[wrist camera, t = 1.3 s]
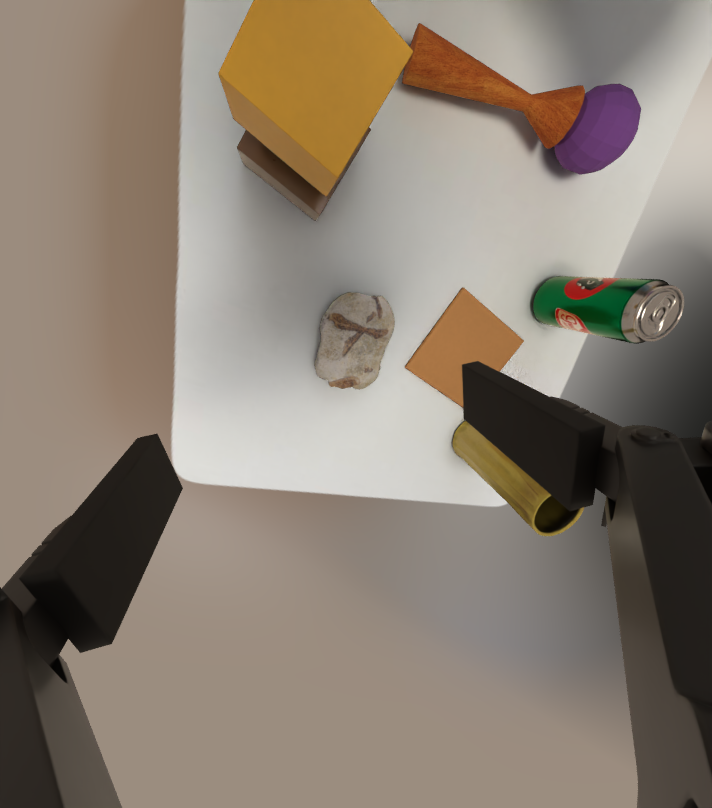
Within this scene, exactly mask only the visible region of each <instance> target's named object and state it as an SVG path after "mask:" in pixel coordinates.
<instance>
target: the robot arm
mask: <svg viewBox="0 0 712 808" xmlns="http://www.w3.org/2000/svg"><path fill="white" fill-rule="evenodd" d="M462 382H463V410H464V420H466V421H467V422H468V423H469V424H470V425H471V426H472V427H474V428H475V429H476V430H477V431H478V432H479V433H480V434H482V435H483V436H484V437H485V438H486V439H487V440H489V441H490V442H491V443H492V444H493V445H494V446H495V447H497V448H498V449H499V450H500V451H501V452H502V453H503V454H505V455H506V456H507V457H508V458H509V459H510V460H512V461H513V462H514V463H515V464H516V465H517V466H518V467H520V468H521V469H522V470H523V471H524V472H525V473H526V474H528V475H529V476H530V477H531V478H532V479H533V480H534V481H536V482H537V483H538V484H539V485H540V486H541V487H543V488H544V489H545V490H546V491H547V492H548V493H549V494H551V495H552V496H553V497H554V498H555V499H556V500H557V501H559V502H560V503H561V504H562V505H563V506H564V507H566V508H567V509H568V510H569V511H573V510H577V509H580V508H583V507H586V506H590V505H593V500H594V493H595V488H596V489H598V490H599V491H601V492H602V493H603V494H605V495H606V502H605V507H604V513H603V519H602V526H606V525H607V527H608V528H607V529H608V537H609V545H610V553H611V561H612V569H613V577H614V586H615V594H616V602H617V610H618V618H619V626H620V635H621V643H622V651H623V659H624V667H625V674H626V683H627V691H628V700H629V708H630V715H631V724H632V732H633V740H634V748H635V756H636V765H637V775H638V802H637V808H712V421H710V422H708V423H706V426H705V428H704V431H703V435H702V437H695V438H678V437H677V436H676V435H674V434H672V433H670V432H669V431H667V430H663V429H660V428H657V427H651V426H645V425H632V426H627V427H621V426H619V425H617V424H615V423H613V422H610V421H608V420H606V419H604V418H602V417H600V416H598V415H596V414H594V413H590V412H589V411H588V410H586V409H584V408H580V407H579V406H577V405H576V404H574V403H571V402H569V401H567V400H563V399H559V398H555V397H548V396H546V395H544V394H542V393H540V392H539V391H537V390H535V389H533V388H531V387H529V386H527V385H525V384H523V383H521V382H519V381H517V380H515V379H513V378H511V377H509V376H507V375H505V374H503V373H501V372H499V371H497V370H495V369H493V368H491V367H489V366H487V365H485V364H483V363H481V362H479V361H475V362H471V363H466V364H462ZM182 489H183V488H182V485H181V483H180V481H179V479H178V477H177V475H176V473H175V470H174V468H173V466H172V464H171V462H170V460H169V458H168V456H167V453H166V451H165V449H164V447H163V445H162V443H161V441H160V438H159V436H158V434H154V435H149V436H144V437H140V438H137V439H136V440H135V442H134V443H133V444H132V445H131V446H130V448H129V449H128V450H127V451H126V452H125V453H124V455H123V456H122V457H121V458H120V459H119V461H118V462H117V463H116V464H115V465H114V466H113V468H112V469H111V470H110V471H109V472H108V474H107V475H106V476H105V477H104V478H103V479H102V481H101V482H100V483H99V484H98V485H97V487H96V488H95V489H94V490H93V491H92V492H91V494H90V495H89V496H88V497H87V499H86V500H85V501H84V502H83V503H82V504H81V505H80V507H79V508H78V509H77V510H76V511H75V513H74V514H73V515H72V516H70V517H69V518H67V519H66V520H65V521H64V522H62V523H61V524H60V525H58V526H57V527H56V528H55V529H53V530H52V532H51V533H50V534H49V535H48V536H47V537H46V538H45V540H44V541H43V542H42V545H40V546H38V548H37V549H36V550H35V551H34V552H33V553H32V557H29V558H28V559H27V560H26V561H25V563H24V564H23V565H22V566H21V567H20V568H19V569H18V571H17V572H16V573H15V574H14V575H13V576H12V578H11V579H10V580H9V581H8V582H7V583H6V584H5V586H4V587H3V588H2V589H1V588H0V808H122V806H121V804H120V801H119V799H118V796H117V793H116V791H115V788H114V786H113V783H112V780H111V778H110V775H109V773H108V770H107V768H106V765H105V762H104V760H103V757H102V754H101V752H100V749H99V747H98V744H97V742H96V739H95V736H94V734H93V731H92V728H91V726H90V723H89V721H88V718H87V715H86V713H85V710H84V708H83V705H82V702H81V700H80V697H79V695H78V692H77V690H76V687H75V684H74V682H73V679H72V677H71V674H70V671H69V668H68V666H67V663H66V662H65V661H64V660H63V659H62V657H61V656H60V655H59V654H60V652H61V650H62V648H63V647H64V645H65V643H66V641H67V640H68V639H69V640H70V641H71V642H72V643H73V645H74V646H75V647H76V648H77V649H78V650H79V652H80V653H81V652H85V651H88V650H92V649H95V648H99V647H102V646H106V645H109V644H112V642H113V640H114V638H115V635H116V633H117V631H118V629H119V627H120V625H121V622H122V620H123V618H124V616H125V614H126V611H127V609H128V607H129V605H130V603H131V600H132V598H133V596H134V594H135V592H136V590H137V587H138V585H139V583H140V581H141V579H142V576H143V574H144V572H145V570H146V567H147V566H148V563H149V561H150V559H151V557H152V555H153V552H154V550H155V548H156V546H157V544H158V541H159V539H160V537H161V535H162V533H163V530H164V528H165V526H166V524H167V522H168V519H169V517H170V515H171V513H172V511H173V509H174V506H175V504H176V502H177V500H178V497H179V495H180V493H181V491H182Z"/></svg>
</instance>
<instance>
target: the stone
mask: <svg viewBox="0 0 712 808" xmlns="http://www.w3.org/2000/svg"><path fill="white" fill-rule="evenodd" d="M394 323H395V321H394V315H393V312H392V309H391V307H390V305H389V303H388V302H387V301H386V300H385V298H384V297H382V296H377V297H376V296H367V295H363V294H360V293H351V292H348V293H345V294H343V295H341V296H340V297H338V298H337V299H336V300H334V301H333V302H332V304H331V305H330V307H329V308H328V310H327V312H326V313H325V314H324V316H323V318H322V320H321V324H320V332H321V343H320V346H319V349H318V354H317V359H316V361H315V369H316V373H317V375H318V376H319V377H320V378H322V379H325V380H328V382H329V385H330V386H331V387H334V386H335V387H338V388H341V389H344V388H348V387H353V388H355V389H359V390H360V389H363V388H365V387H367V386H369V385H370V384H371V383H372V382H374V381H375V380H376V379H377V377H378V374H379V370H380V362H381V359H382V357H383V354H384V351H385V348H386V346H387V344H388V341H389V339H390V337H391V335H392V332H393V330H394Z"/></svg>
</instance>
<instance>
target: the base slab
mask: <svg viewBox="0 0 712 808" xmlns="http://www.w3.org/2000/svg"><path fill="white" fill-rule="evenodd" d="M370 131H371V129H370V128H369V127H368V129H367V131H366V132H365V134H364V136H363V137H362V139H361V141H360V142H359V144H358V146H357V148H356V149H355V151H354V153H353V154H352V156H351V158H350V159H349V161H348V163H347V164H346V166H345V168H344V169H343V171H342V173H341V174H340V176H339V178H338V179H337V181H336V183H335V184H334V186H333V187H332V189H331V190H330V192H329V194H328V195H327V196H325V195H323V194H322V193H321V192H320V191H319V190H317V189H316V188H315V187H313V186H312V185H311V184H310V183H308V182H307V181H306V180H305V179H304V178H303V177H301V176H300V175H299V174H298V173H297V172H295V171H294V170H293V169H292V168H291V167H289V166H288V165H287V164H286V163H285V162H283V161H282V160H281V159H280V158H279V157H278V156H276V155H275V154H274V153H273V152H272V151H270V150H269V149H268V148H267V147H266V146H264V145H263V143H262V142H260V141H259V140H258V139H257V138H256V137H254V136H253V135H252V134H251V133H250V132H249V131H247V130H246V131H245V133H244V135H243V137H242V139H241V141H240V143H239V145H238V146H237V149H238V152H239V154H240V157H241V159H242V162H243V164H244V165H245V166H247V167H248V168H249V169H250V170H252V171H253V172H254V173H255V174H257V175H258V176H259V177H260V178H262V179H263V180H264V181H265V182H267V183H268V184H269V185H270V186H272V187H273V188H274V189H275V190H277V191H278V192H279V193H280V194H282V195H283V196H284V197H285V198H287V199H288V200H289V201H290V202H292V203H293V204H294V205H295V206H297V207H298V208H299V209H300V210H302V211H303V212H304V213H305V214H307V215H308V216H309V217H311V218H312V219H313V220H314V221H316V220H317V219H318V217H319V216H320V214H321V213H322V211H323V209H324V208H325V206H326V204H327V203H328V201H329V199H330V198H331V196H332V194H333V193H334V191H335V189H336V188H337V186H338V184H339V183H340V181H341V179H342V178H343V176H344V174H345V173H346V171H347V169H348V167H349V166H350V164H351V162H352V161H353V159H354V157H355V156H356V154H357V152H358V151H359V149H360V147H361V146H362V144H363V142H364V141H365V139H366V137H367V136H368V134H369V132H370Z"/></svg>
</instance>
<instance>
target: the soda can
mask: <svg viewBox="0 0 712 808" xmlns="http://www.w3.org/2000/svg"><path fill="white" fill-rule="evenodd" d="M683 308H684V297H683V294H682V292H681V290H679V288H677V287H675V286H672V285H669V284H668V283H667V282H665V281H663V280H657V279H656V280H654V279H627V278H598V277H568V276H557V277H553V278H551V279H549V280H547V281H546V282H545V283H544V284H543V285H542V286H541V287H540V288H539V290H538V291H537V293H536V295H535V298H534V302H533V309H534V314H535V316H536V318H537V319H538V320H539V321H540V322H541V323H543V324H547V325H552V326H556V327H561V328H565V329H570V330H574V331H579V332H584V333H588V334H593V335H598V336H602V337H607V338H611V339H616V340H620V341H625V342H629V343H642V342H645V341H656V340H659V339H661V338H663V337H664V336H666V335H667V334H668V333H669V332H670V331H671V330H672V329H673V328H674V327H675V325H676V324H677V323H678V321H679V319H680V317H681V315H682V312H683Z"/></svg>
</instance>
